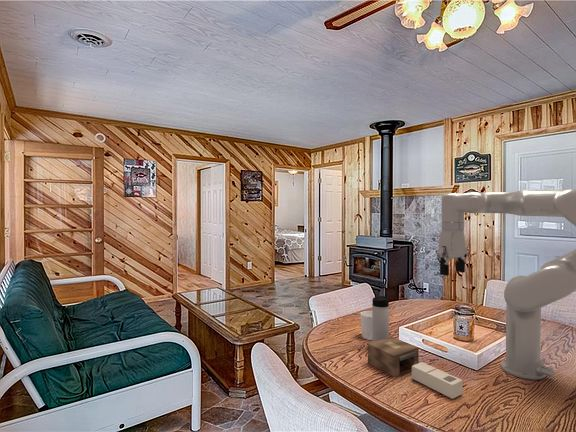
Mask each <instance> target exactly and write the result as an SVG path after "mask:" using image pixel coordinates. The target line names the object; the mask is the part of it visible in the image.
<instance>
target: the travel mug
mask: <svg viewBox="0 0 576 432" xmlns="http://www.w3.org/2000/svg"><path fill="white" fill-rule="evenodd" d="M390 298H391V297H390V296H385V295H381V296H379V295H378V296H375V297H373V298H372V301H371V302H372V305H371V306H372V307H371V309H372V310H371V311H372V340H371V342H374V341H378V340H381V339H384V338H388V337H390V304H389V302H390V301H389V300H390Z"/></svg>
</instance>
